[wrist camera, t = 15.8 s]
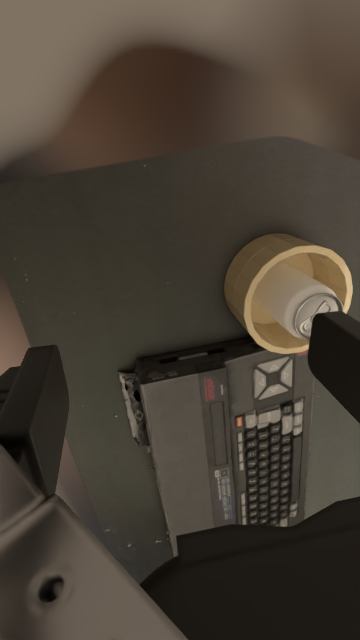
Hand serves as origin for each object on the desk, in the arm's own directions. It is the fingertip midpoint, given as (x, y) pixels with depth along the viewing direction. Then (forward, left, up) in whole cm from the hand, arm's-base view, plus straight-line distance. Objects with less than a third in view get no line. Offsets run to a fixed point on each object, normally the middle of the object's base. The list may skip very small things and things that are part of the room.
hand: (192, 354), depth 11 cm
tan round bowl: (+10, +18, -33) cm, 39 cm away
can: (+10, +18, -33) cm, 39 cm away
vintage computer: (+39, +12, -34) cm, 53 cm away
